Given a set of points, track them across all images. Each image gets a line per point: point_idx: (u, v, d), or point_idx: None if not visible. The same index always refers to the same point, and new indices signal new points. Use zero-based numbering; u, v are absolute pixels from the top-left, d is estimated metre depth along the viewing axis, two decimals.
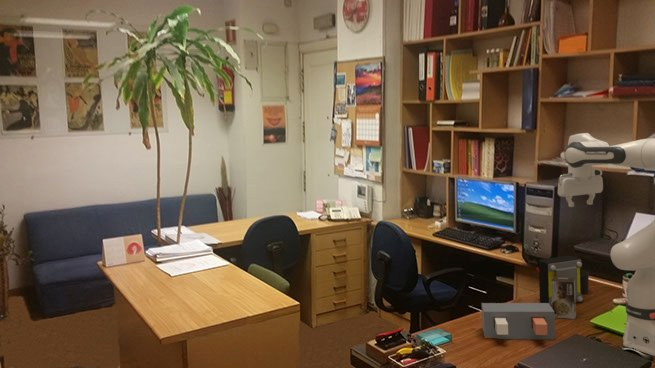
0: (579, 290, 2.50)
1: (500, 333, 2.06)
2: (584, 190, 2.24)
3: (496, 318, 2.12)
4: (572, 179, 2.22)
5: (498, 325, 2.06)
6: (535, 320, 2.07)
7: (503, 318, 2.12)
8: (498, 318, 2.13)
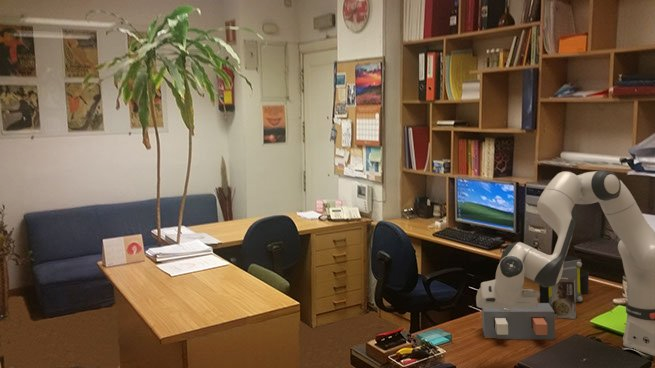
0: (579, 290, 2.50)
1: (500, 333, 2.06)
2: None
3: (496, 318, 2.12)
4: None
5: (498, 325, 2.06)
6: (535, 320, 2.07)
7: (503, 318, 2.12)
8: (498, 318, 2.13)
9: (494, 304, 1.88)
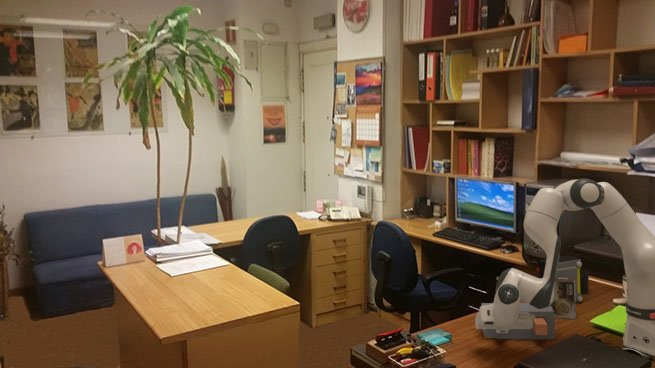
0: (579, 290, 2.50)
1: (500, 332, 2.08)
2: None
3: None
4: None
5: None
6: (535, 320, 2.07)
7: None
8: None
9: (492, 326, 2.01)
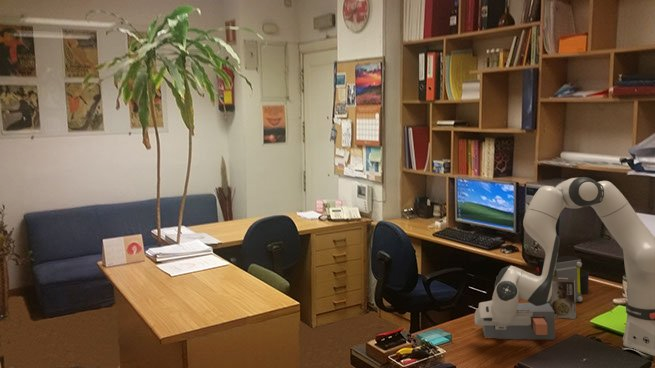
0: (579, 290, 2.50)
1: None
2: None
3: None
4: None
5: None
6: (535, 320, 2.07)
7: None
8: None
9: (491, 322, 2.04)
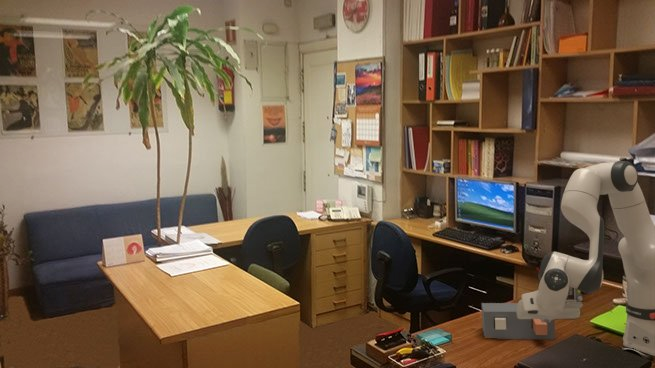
0: (579, 290, 2.50)
1: (498, 328, 2.11)
2: None
3: None
4: None
5: (496, 320, 2.11)
6: (535, 320, 2.07)
7: None
8: None
9: (535, 315, 1.85)
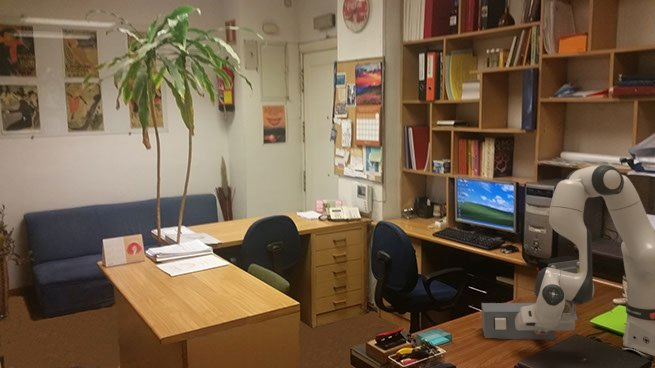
0: None
1: (498, 328, 2.11)
2: None
3: None
4: None
5: (496, 320, 2.11)
6: None
7: None
8: None
9: (533, 327, 1.97)
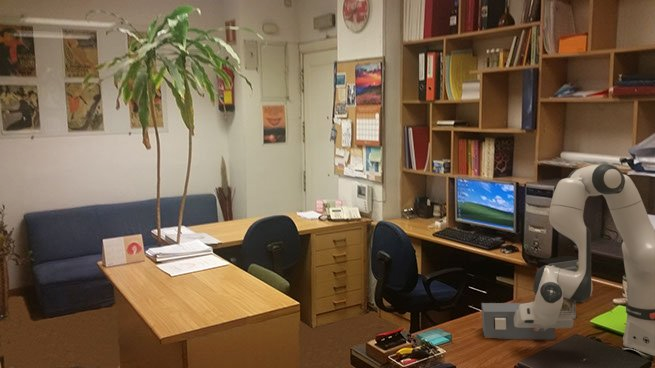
0: None
1: (498, 328, 2.11)
2: None
3: None
4: None
5: (496, 320, 2.11)
6: None
7: None
8: None
9: (531, 324, 1.99)
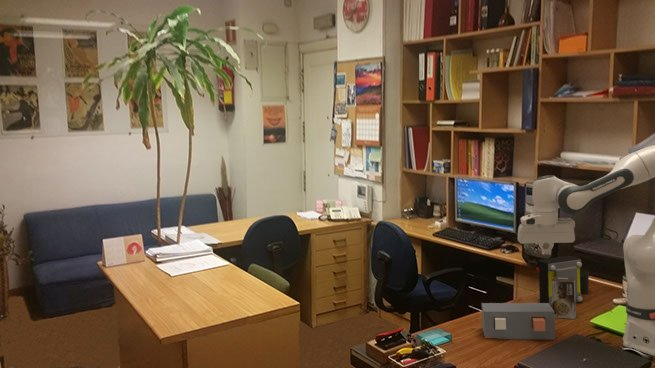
0: (579, 290, 2.50)
1: (498, 328, 2.11)
2: None
3: None
4: None
5: (496, 320, 2.11)
6: (533, 317, 2.11)
7: None
8: None
9: (535, 236, 2.06)
